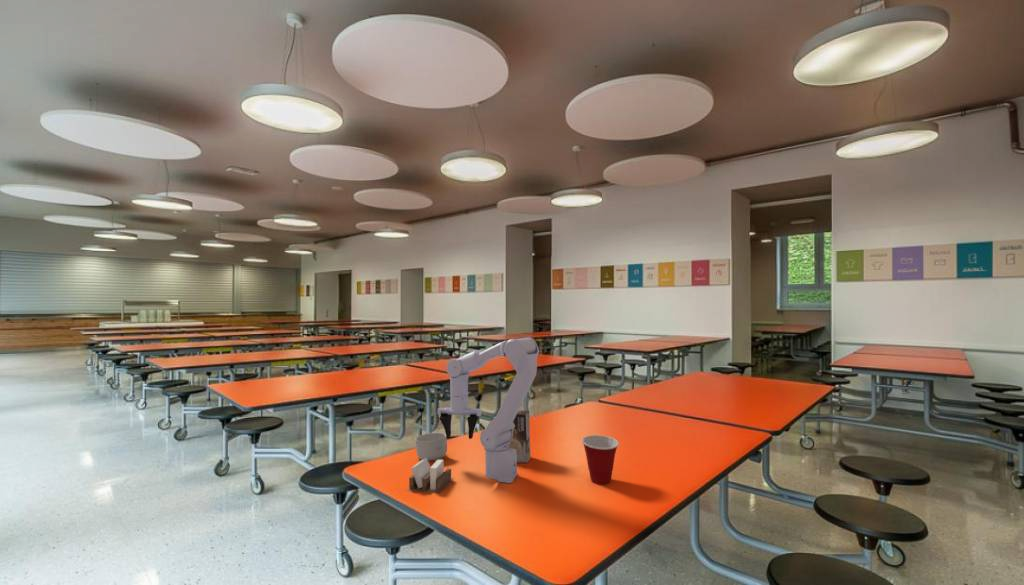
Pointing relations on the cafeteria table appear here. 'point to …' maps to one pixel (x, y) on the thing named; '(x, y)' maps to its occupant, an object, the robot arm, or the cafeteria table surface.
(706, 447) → the cafeteria table surface
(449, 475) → the rack
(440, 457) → the teacup
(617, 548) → the cafeteria table surface
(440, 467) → the white upright slab
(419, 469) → the racked plate
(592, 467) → the plastic cup
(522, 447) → the coffee box
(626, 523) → the cafeteria table surface
